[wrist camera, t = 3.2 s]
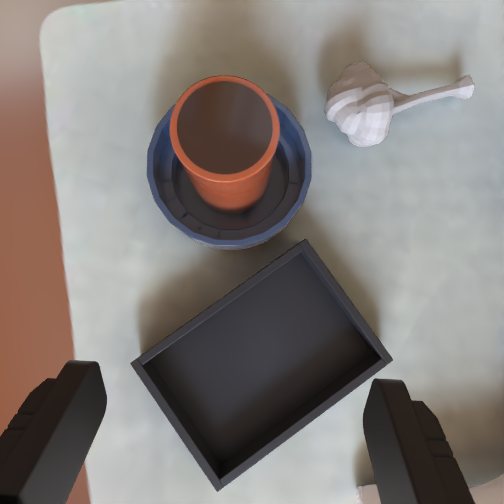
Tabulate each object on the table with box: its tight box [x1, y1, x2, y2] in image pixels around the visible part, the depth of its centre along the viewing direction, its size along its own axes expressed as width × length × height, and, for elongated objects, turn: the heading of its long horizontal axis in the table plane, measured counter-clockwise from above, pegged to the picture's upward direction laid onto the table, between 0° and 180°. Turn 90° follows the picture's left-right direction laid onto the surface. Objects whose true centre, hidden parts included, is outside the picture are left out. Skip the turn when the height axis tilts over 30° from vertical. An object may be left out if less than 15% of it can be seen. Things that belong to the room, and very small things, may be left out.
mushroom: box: [324, 62, 475, 147], centre depth 28 cm, size 7×5×12 cm
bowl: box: [147, 93, 311, 250], centre depth 27 cm, size 11×11×4 cm
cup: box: [170, 75, 280, 215], centre depth 24 cm, size 6×6×10 cm
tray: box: [130, 239, 393, 492], centre depth 27 cm, size 15×11×2 cm
